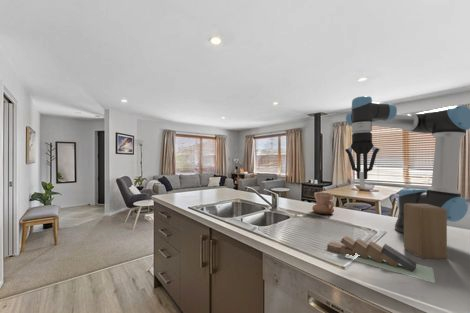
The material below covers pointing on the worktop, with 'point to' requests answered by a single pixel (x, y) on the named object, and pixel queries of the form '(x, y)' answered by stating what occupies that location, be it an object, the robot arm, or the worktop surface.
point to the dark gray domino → (399, 257)
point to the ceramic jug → (323, 203)
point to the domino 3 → (380, 253)
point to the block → (425, 230)
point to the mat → (401, 269)
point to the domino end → (340, 248)
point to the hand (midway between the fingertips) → (362, 186)
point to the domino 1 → (352, 246)
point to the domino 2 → (366, 250)
